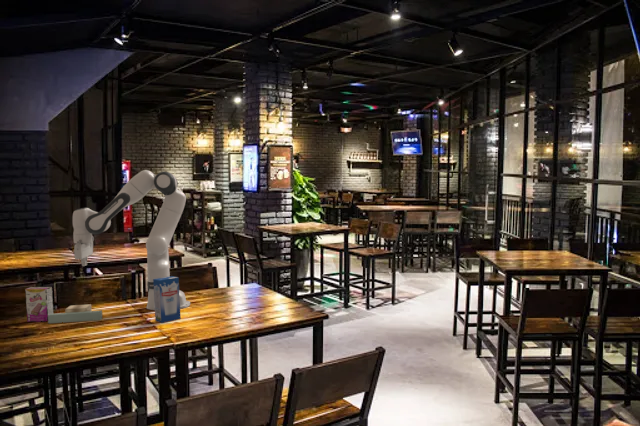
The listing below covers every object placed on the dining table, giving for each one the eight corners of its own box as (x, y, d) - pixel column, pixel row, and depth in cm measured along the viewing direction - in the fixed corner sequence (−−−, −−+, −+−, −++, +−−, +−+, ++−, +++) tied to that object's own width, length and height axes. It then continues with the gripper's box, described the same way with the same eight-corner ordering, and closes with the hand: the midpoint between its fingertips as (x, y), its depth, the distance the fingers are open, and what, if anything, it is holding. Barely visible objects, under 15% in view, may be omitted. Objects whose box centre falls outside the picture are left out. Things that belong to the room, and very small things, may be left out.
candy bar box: (26, 322, 262) (24, 288, 261) (33, 319, 267) (30, 286, 266) (48, 322, 261) (46, 288, 260) (54, 319, 266) (52, 286, 265)
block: (91, 316, 271) (91, 304, 271) (87, 319, 263) (86, 307, 263) (70, 317, 270) (70, 305, 269) (65, 321, 262) (65, 309, 261)
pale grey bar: (102, 318, 264) (101, 310, 264) (100, 319, 261) (100, 311, 261) (50, 321, 261) (50, 313, 261) (48, 323, 258) (47, 315, 258)
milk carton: (174, 316, 262) (172, 276, 261) (180, 318, 258) (178, 277, 257) (155, 320, 255) (153, 279, 254) (161, 322, 251) (159, 280, 250)
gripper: (83, 240, 268) (85, 268, 269) (94, 237, 289) (96, 262, 289) (70, 241, 267) (71, 269, 268) (82, 237, 288) (83, 263, 288)
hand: (84, 265), depth 279 cm, fingers closed
